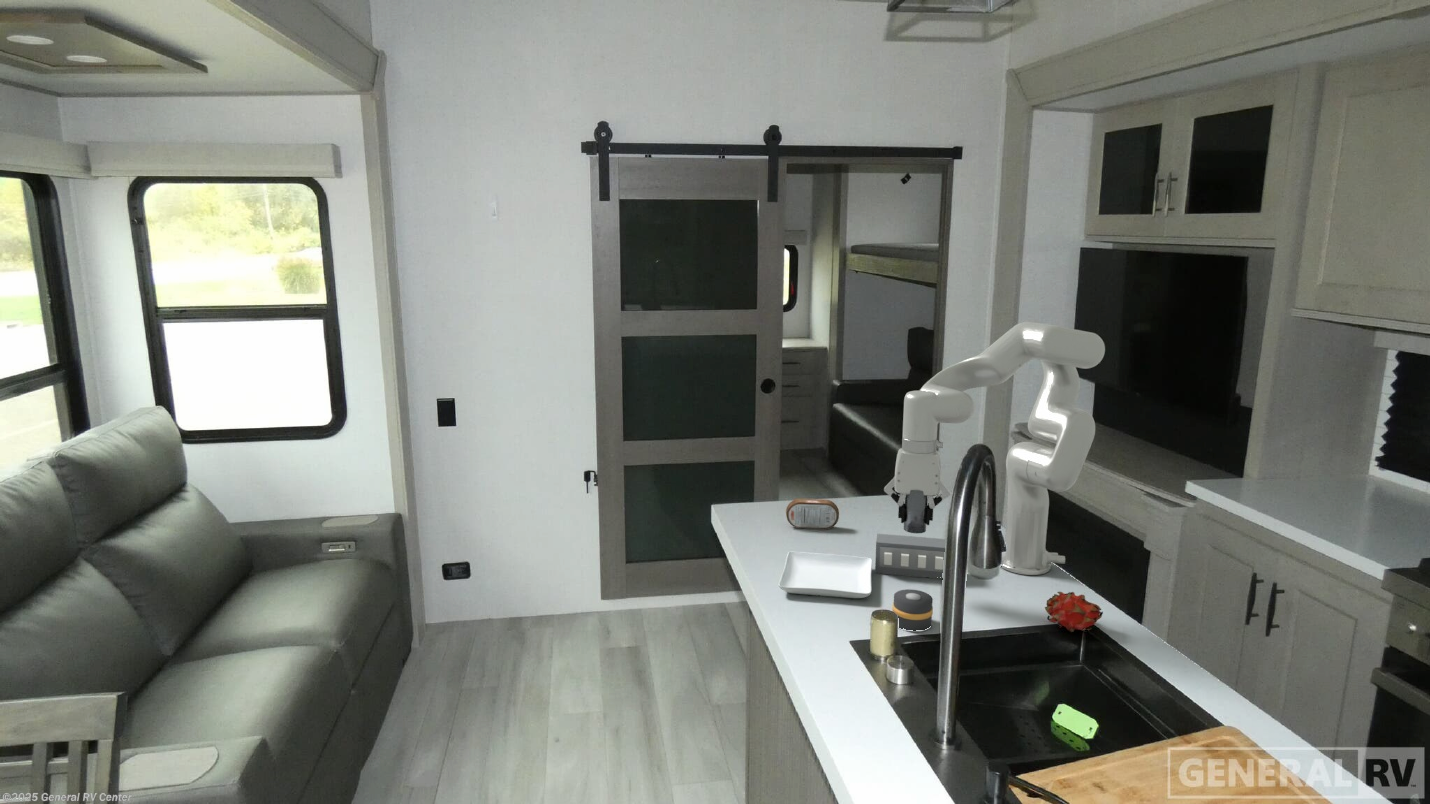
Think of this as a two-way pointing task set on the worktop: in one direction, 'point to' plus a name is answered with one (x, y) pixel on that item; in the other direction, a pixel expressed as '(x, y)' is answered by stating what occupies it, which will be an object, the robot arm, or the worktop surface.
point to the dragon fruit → (1072, 611)
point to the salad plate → (827, 575)
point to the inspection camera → (915, 512)
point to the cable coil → (913, 609)
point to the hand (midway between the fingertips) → (915, 521)
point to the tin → (812, 513)
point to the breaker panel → (909, 556)
